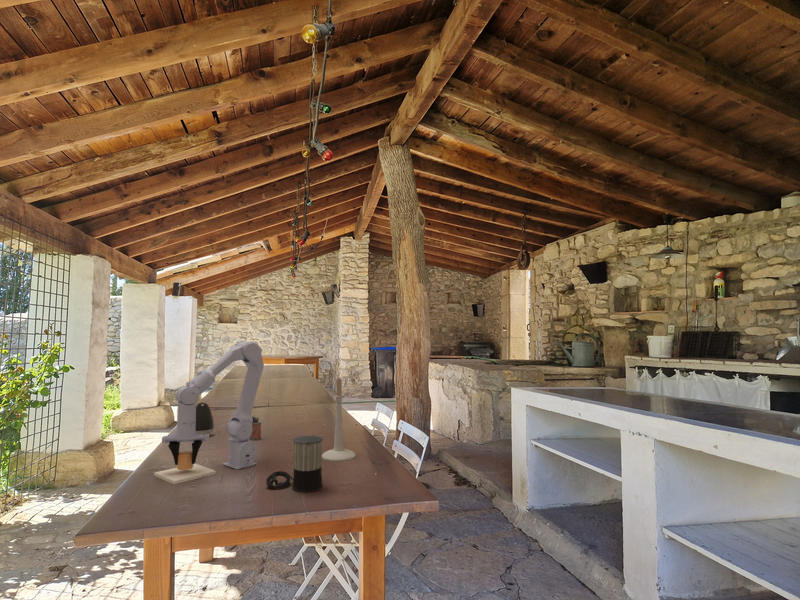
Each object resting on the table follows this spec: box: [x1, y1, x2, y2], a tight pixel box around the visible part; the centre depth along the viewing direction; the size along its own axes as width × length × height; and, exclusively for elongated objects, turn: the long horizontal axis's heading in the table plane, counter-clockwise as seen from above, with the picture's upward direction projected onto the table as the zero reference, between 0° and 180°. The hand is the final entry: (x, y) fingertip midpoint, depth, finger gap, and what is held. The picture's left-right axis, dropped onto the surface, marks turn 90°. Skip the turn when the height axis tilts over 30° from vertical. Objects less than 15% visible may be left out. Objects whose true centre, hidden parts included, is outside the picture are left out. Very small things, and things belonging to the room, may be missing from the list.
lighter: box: [249, 415, 262, 441], centre depth 209 cm, size 8×3×10 cm, turn 84°
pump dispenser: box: [195, 402, 215, 435], centre depth 216 cm, size 10×10×15 cm
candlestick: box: [322, 377, 357, 462], centre depth 182 cm, size 13×13×30 cm
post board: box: [153, 463, 217, 485], centre depth 159 cm, size 14×14×5 cm
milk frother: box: [265, 435, 324, 493], centre depth 147 cm, size 14×16×15 cm
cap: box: [176, 450, 193, 470], centre depth 159 cm, size 5×5×5 cm
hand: (185, 463), depth 159 cm, fingers closed on cap, 5 cm apart
